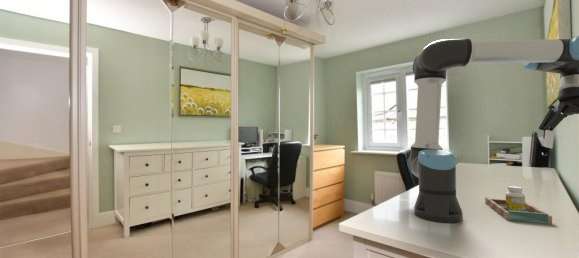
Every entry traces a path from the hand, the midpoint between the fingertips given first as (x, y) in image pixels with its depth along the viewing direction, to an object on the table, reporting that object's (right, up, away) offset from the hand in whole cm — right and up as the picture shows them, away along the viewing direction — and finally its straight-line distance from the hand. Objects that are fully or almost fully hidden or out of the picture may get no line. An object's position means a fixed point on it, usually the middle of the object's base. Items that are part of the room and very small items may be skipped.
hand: (567, 146), depth 90 cm
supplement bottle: (-15, -25, +4) cm, 29 cm away
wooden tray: (-14, -25, +5) cm, 29 cm away
